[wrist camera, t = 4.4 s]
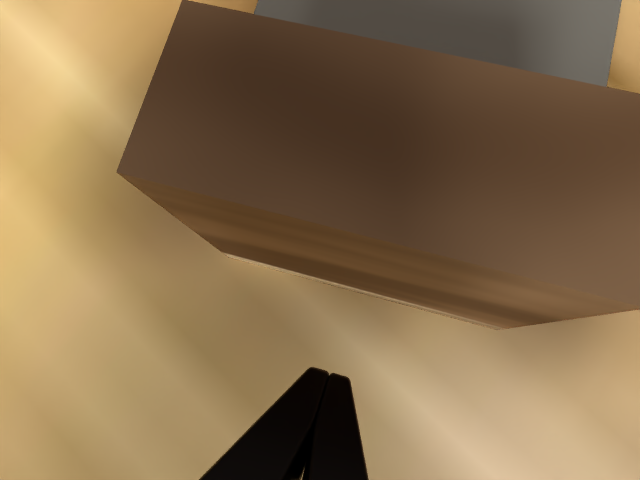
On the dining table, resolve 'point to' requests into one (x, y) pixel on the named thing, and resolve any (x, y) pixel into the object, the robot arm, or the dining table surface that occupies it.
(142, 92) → the dining table surface
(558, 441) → the dining table surface
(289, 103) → the walnut block
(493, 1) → the mat
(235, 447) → the robot arm
